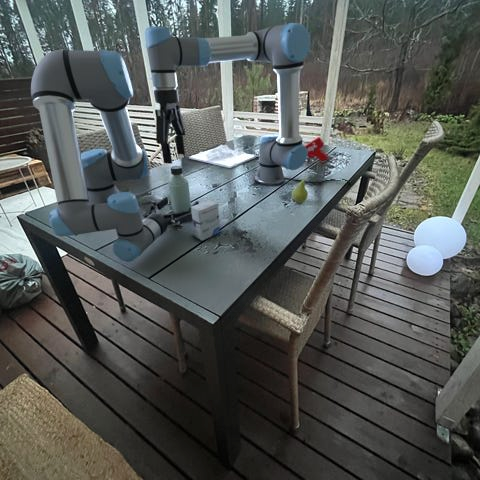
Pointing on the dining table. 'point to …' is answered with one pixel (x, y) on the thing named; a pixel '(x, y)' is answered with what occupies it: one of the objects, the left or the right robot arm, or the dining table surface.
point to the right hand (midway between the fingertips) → (174, 158)
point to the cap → (176, 170)
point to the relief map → (223, 156)
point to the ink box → (205, 219)
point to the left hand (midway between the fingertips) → (182, 202)
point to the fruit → (300, 192)
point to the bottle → (179, 193)
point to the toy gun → (316, 149)
